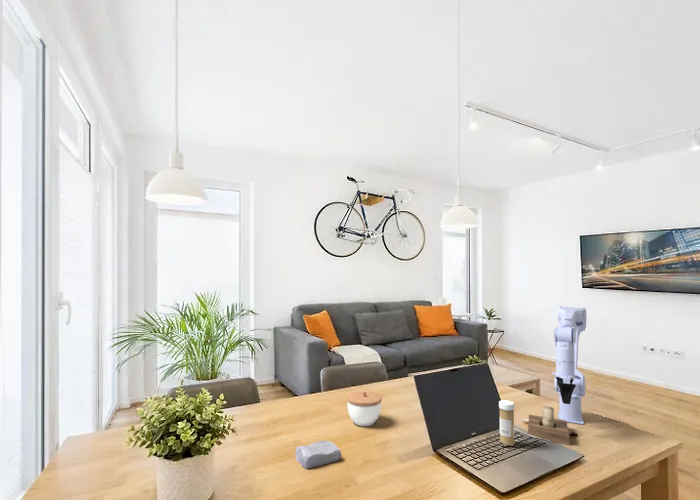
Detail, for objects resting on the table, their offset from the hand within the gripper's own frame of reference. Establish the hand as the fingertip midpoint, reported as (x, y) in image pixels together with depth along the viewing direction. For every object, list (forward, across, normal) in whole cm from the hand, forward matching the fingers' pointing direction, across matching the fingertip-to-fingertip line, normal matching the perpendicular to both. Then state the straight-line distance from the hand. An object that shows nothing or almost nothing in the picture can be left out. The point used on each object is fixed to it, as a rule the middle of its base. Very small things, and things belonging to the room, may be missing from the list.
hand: (565, 400), depth 133 cm
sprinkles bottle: (+12, +20, -18) cm, 29 cm away
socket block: (+11, +4, -6) cm, 13 cm away
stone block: (+15, +55, -67) cm, 88 cm away
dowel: (+10, +4, -6) cm, 12 cm away
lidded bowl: (+13, +25, -66) cm, 71 cm away
